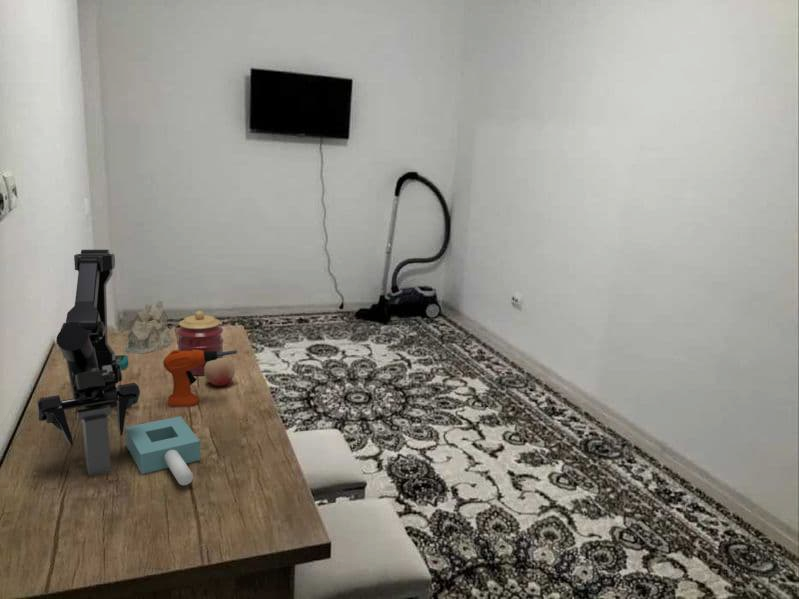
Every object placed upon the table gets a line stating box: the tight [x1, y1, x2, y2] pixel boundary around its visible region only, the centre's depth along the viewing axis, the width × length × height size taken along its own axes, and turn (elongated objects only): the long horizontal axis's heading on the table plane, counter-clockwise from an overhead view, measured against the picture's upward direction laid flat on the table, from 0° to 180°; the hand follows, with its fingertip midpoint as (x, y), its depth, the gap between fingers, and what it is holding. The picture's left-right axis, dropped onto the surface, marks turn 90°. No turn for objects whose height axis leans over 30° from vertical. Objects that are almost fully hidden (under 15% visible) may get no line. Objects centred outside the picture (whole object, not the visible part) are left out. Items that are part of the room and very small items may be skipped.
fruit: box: [203, 357, 235, 387], centre depth 175 cm, size 8×8×8 cm
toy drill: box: [162, 349, 238, 408], centre depth 162 cm, size 5×19×15 cm, turn 105°
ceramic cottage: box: [124, 299, 172, 355], centre depth 203 cm, size 16×16×15 cm
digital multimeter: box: [115, 354, 129, 371], centre depth 184 cm, size 7×15×3 cm, turn 106°
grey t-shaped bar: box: [76, 404, 112, 477], centre depth 128 cm, size 4×6×14 cm, turn 125°
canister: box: [176, 310, 224, 376], centre depth 185 cm, size 13×13×18 cm
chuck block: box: [124, 415, 201, 486], centre depth 133 cm, size 24×12×4 cm, turn 35°
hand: (97, 439), depth 126 cm, fingers open, 9 cm apart
